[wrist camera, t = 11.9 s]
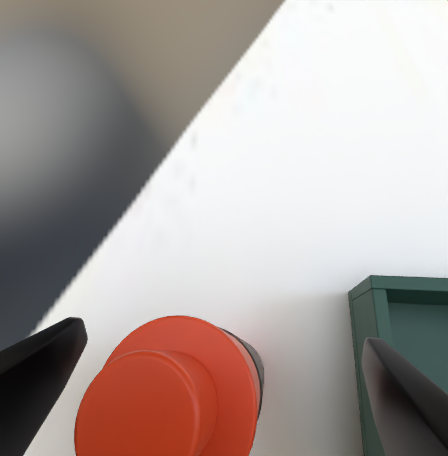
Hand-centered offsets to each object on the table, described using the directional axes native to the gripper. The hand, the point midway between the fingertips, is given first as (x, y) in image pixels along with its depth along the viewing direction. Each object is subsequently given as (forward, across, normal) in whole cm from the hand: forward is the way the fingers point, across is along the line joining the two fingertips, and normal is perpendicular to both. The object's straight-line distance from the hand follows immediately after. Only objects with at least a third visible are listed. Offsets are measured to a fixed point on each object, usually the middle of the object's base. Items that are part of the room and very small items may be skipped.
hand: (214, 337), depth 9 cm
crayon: (+4, 0, +6) cm, 8 cm away
